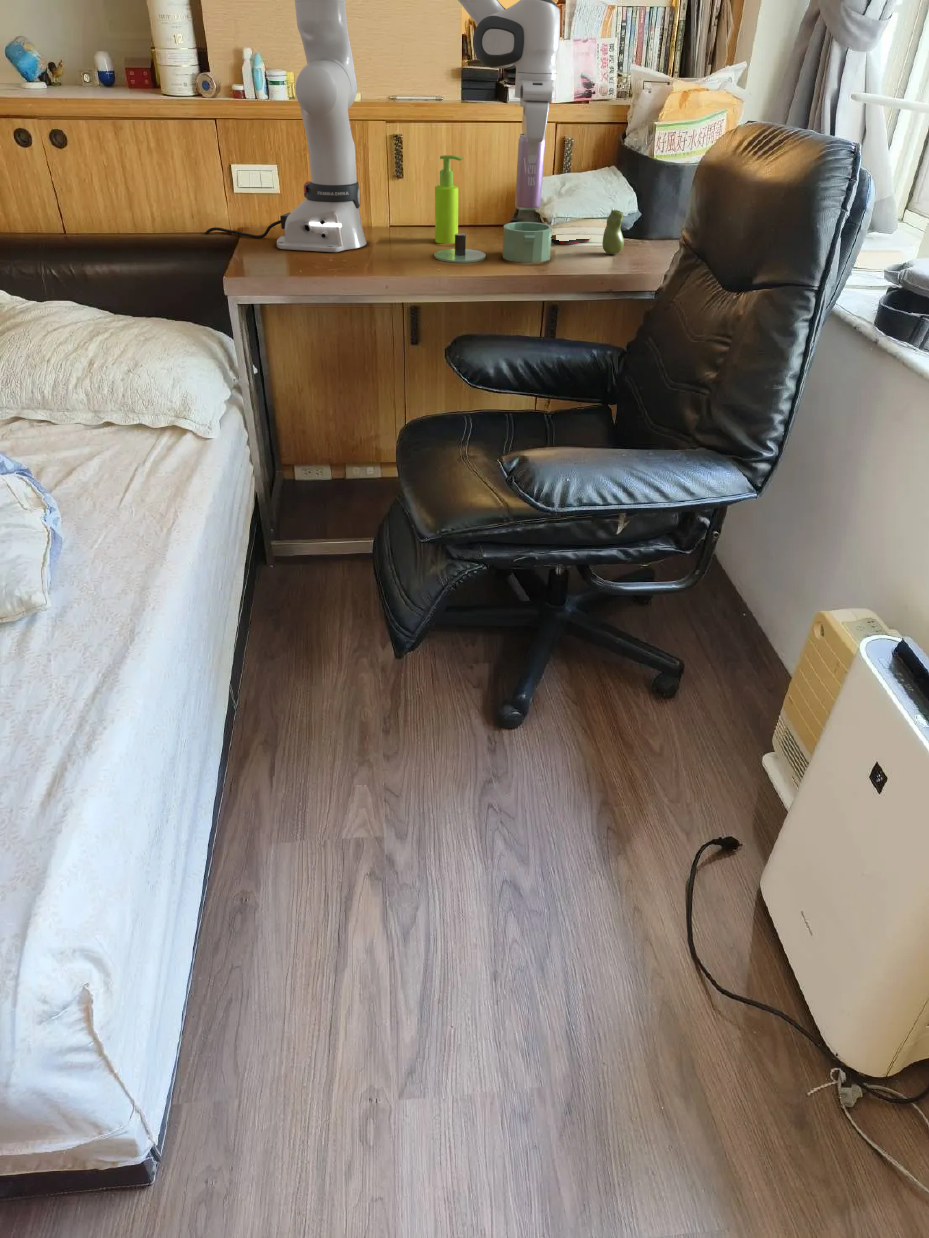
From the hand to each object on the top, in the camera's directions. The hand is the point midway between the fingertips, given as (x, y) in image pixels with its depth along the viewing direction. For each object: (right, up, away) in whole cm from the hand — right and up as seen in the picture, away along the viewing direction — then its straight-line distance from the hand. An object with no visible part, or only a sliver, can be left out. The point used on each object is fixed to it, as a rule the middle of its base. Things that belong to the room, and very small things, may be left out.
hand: (530, 160), depth 187 cm
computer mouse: (+13, -5, +30) cm, 33 cm away
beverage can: (0, -8, +6) cm, 10 cm away
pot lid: (-16, -17, +11) cm, 26 cm away
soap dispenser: (-19, -8, +25) cm, 33 cm away
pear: (+22, -13, +18) cm, 32 cm away
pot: (0, -17, +12) cm, 21 cm away
